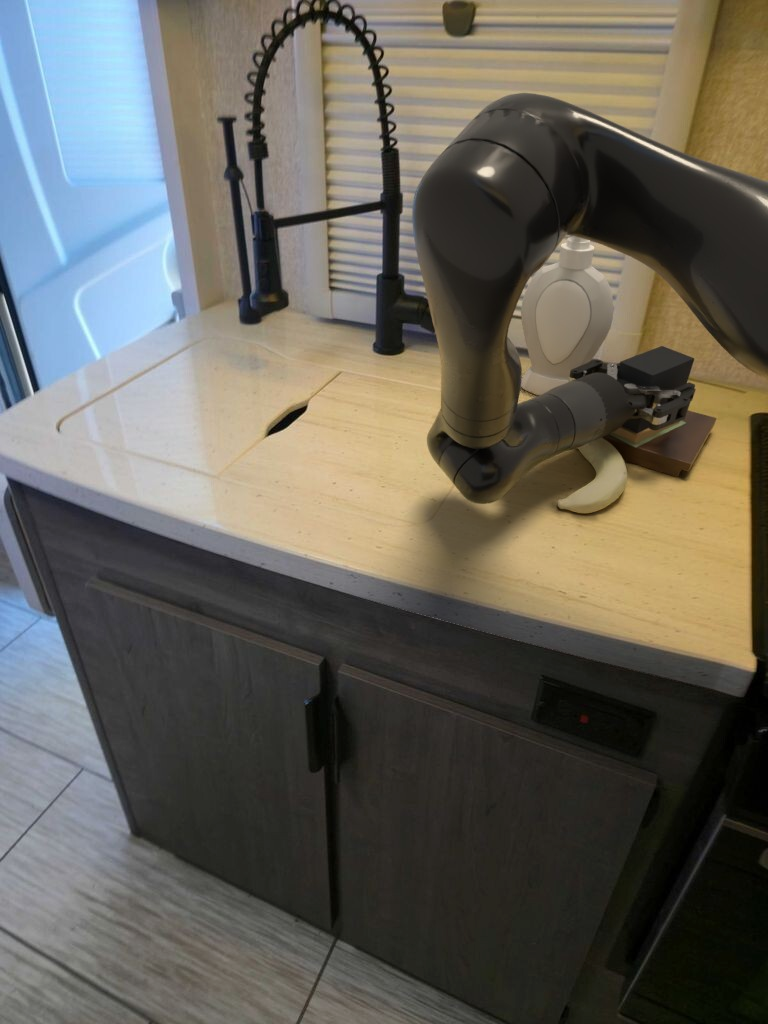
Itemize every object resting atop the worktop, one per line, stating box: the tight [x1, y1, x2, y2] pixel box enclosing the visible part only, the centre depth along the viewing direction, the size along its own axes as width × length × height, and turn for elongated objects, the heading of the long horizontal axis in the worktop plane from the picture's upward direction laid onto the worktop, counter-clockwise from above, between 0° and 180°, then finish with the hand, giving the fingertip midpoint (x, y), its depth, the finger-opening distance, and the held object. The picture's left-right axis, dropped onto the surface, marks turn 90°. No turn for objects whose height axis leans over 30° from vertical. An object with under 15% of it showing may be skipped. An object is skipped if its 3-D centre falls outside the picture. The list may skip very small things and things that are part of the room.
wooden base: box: [602, 409, 717, 478], centre depth 90 cm, size 16×14×3 cm
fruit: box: [556, 437, 628, 514], centre depth 81 cm, size 7×15×3 cm, turn 159°
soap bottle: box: [520, 235, 614, 396], centre depth 93 cm, size 13×8×24 cm, turn 63°
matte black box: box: [612, 345, 695, 444], centre depth 86 cm, size 10×6×9 cm, turn 126°
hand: (661, 378), depth 86 cm, fingers open, 8 cm apart
